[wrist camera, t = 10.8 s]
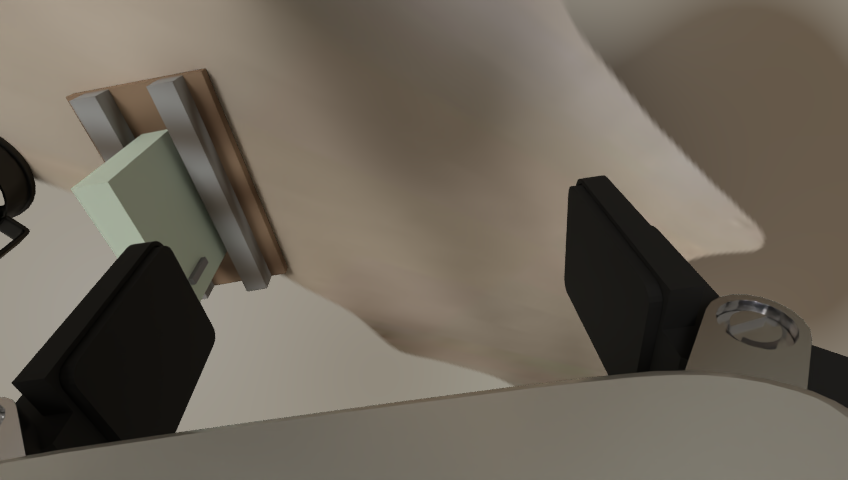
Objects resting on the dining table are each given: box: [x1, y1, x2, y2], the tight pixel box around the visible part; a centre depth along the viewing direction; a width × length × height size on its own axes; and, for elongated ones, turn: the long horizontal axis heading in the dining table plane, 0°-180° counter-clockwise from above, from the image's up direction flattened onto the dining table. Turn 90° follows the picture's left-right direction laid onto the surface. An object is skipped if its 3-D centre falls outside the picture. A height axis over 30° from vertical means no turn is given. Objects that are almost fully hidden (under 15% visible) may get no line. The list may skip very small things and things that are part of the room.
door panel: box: [71, 129, 227, 302], centre depth 37 cm, size 12×3×10 cm, turn 10°
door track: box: [66, 69, 288, 299], centre depth 41 cm, size 20×11×3 cm, turn 9°
